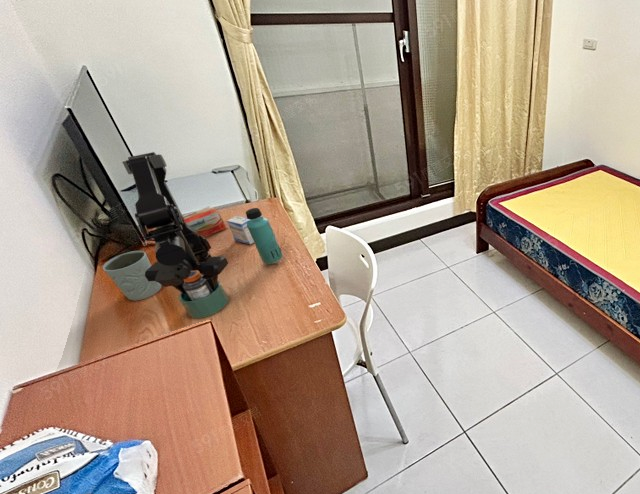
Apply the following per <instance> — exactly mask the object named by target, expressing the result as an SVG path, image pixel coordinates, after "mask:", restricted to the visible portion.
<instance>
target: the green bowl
mask: <svg viewBox="0 0 640 494" xmlns="http://www.w3.org/2000/svg"><path fill="white" fill-rule="evenodd" d="M178 300H179V301H180V304H181V305H182V306H183V308H184V310H185V311H186V313H187V314H188V316H189V317H190V318H193V319H203V318H207V317H209V316H212V315H214V314H216V313H218V312H220V311H221V310H222V309H223V308H225V307H226V306H227V305H228V302H229V297H228V294H227V293H226V291H225V289H224V287H223V285H222V283H221V281H219V280H218V281H217V289H216V290H215V291H214V292H213V293H211V294H210V295H208V296H206V297H204V298H202V299H199V300H195V301H191V300H190V298H189V297H188V295H187V293H186V294H183V293H182V292H180V293H179V295H178Z"/></svg>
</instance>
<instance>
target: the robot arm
mask: <svg viewBox="0 0 640 494" xmlns="http://www.w3.org/2000/svg"><path fill="white" fill-rule="evenodd" d="M121 163H122V164H123V166H124V168H125V171H126V172H127V174H128V175H132V177H133V180H134V183H135V187H136V190H137V193H138V197H139V198H138V200H137V201H136V202H135V203H134V207H135V211H136V213H134V218H135V220H136V222H137V224H138V227H139V229H140V232H141V235H142V236H143V238H144V240H145V241H150V240H152V239H153V240H154V244H155V245H154V246H155V260H156V261H155V262H154V263H153V264H151V267H150V268H149V269H148V270H146V272H145V277H146V278H147V280H148V281H156V282H158V283H160V284H161V285H162V287H164V288H167V287H173V288H175V290H178V291H179V292H180V293H181V292H182V293H183V294H186V292H185V290H184V288H183V283H184V280H183V279H188V277H189V275H190V273H191V271H195V270H198V271H199V272H200V274H201V275H203V277H202V278H203V279H206V280H207V282H208V284H209V285H210V287H211V289H212V290H213V291H215V290H216V289H217V281H219V280H218V279H219V276H220V275H221V273H222V272H223V271H224V270H225V268H226V267H227V266H228V265H229V260H228V259H227V257H226V256H224V255H218V256H212V255H211V254H210V253H209V252H210V250H211V249H212V246H211V244H210V242H209V241H208V239H207V237H205V238H204V237H203V236H202V235H200V236H199V234H198V232H197V230H196V229H194V228H193V227H191V226H189V225H187V223H186V221H185V219H184V218H183V216H184V215H183V214H182V211H181V210H180V208H179V205H178V203H177V202H176V200H175V198H174V196H173V194H172V192H171V190H170V188H169V186H168V185H167V183H166V176H167V169H166V167H167V163H166V161H165V159H164V157H163V155H162V154H159V153H158V154H157V153H156V152H155V151H152V152H148V153H147V152H146V153H143V154H142V153H141V154H137V155H132V156H128V157H127V160H125V161H121ZM147 230H149V231H147Z"/></svg>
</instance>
